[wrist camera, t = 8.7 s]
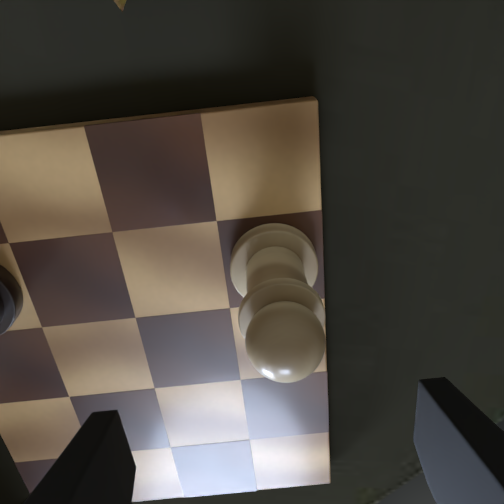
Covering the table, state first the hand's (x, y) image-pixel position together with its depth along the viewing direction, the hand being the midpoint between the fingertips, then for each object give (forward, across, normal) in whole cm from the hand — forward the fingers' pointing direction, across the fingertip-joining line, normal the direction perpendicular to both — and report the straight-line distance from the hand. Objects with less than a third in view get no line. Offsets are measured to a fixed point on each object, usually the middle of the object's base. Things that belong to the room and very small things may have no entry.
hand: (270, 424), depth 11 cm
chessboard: (+9, +5, +4) cm, 11 cm away
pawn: (+8, -1, 0) cm, 8 cm away
